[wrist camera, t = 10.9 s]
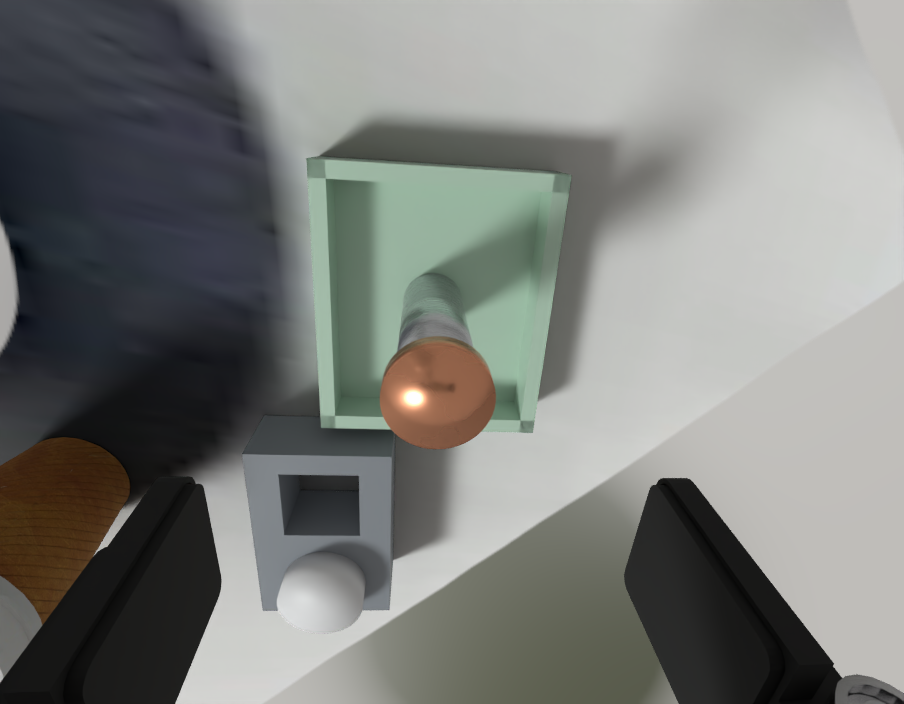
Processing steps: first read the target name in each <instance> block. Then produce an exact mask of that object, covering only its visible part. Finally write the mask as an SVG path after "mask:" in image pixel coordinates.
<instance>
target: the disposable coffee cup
mask: <svg viewBox="0 0 904 704" xmlns="http://www.w3.org/2000/svg"><path fill="white" fill-rule="evenodd" d="M129 493H130V481H129V478H128V475H127V473H126V471H125V469H124V468H123V466H122V465H121V463H120V462H119V461H118V460H117V459H116V458H115V457H114V456H113V455H111V454H110V453H109V452H108V451H106V450H105V449H103V448H101V447H100V446H98V445H95V444H93V443H90V442H87V441H85V440H81V439H77V438H67V437H61V438H51V439H47V440H44V441H42V442H40V443H38V444H36V445H34V446H33V447H31V448H30V449H28V450H26V451H24V452H23V453H21V454H19V455H18V456H16V457H14V458H13V459H11V460H9V461H8V462H6V463H4V464H3V465H1V466H0V682H1V681H2V679H3V678H4V677H5V675H6V674H7V673H8V671H9V670H10V669H11V667H12V666H13V664H14V663H15V662H16V660H17V659H18V658H19V656H20V655H21V654H22V652H23V651H24V650H25V648H26V647H27V645H28V644H29V643H30V641H31V640H32V639H33V637H34V636H35V635H36V633H37V632H38V631H39V629H40V628H41V626H42V625H43V624H44V622H45V621H46V620H47V618H48V617H49V616H50V614H51V613H52V612H53V610H54V609H55V607H56V606H57V605H58V603H59V602H60V601H61V599H62V598H63V597H64V595H65V594H66V593H67V591H68V590H69V589H70V587H71V586H72V584H73V583H74V582H75V580H76V579H77V578H78V576H79V575H80V574H81V572H82V571H83V570H84V568H85V567H86V565H87V564H88V563H89V561H90V560H91V559H92V558H93V556H94V554H95V552H96V550H97V549H98V548H99V546H100V544H101V542H102V541H103V539H104V537H105V535H106V533H107V532H108V531H109V529H110V527H111V525H112V524H113V522H114V520H115V518H116V517H117V516H118V514H119V512H120V510H121V509H122V507H123V505H124V504H125V502H126V501H127V499H128V496H129Z"/></svg>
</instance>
